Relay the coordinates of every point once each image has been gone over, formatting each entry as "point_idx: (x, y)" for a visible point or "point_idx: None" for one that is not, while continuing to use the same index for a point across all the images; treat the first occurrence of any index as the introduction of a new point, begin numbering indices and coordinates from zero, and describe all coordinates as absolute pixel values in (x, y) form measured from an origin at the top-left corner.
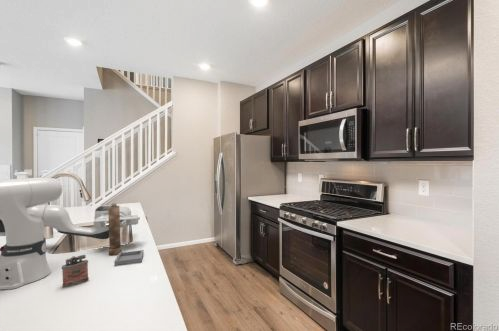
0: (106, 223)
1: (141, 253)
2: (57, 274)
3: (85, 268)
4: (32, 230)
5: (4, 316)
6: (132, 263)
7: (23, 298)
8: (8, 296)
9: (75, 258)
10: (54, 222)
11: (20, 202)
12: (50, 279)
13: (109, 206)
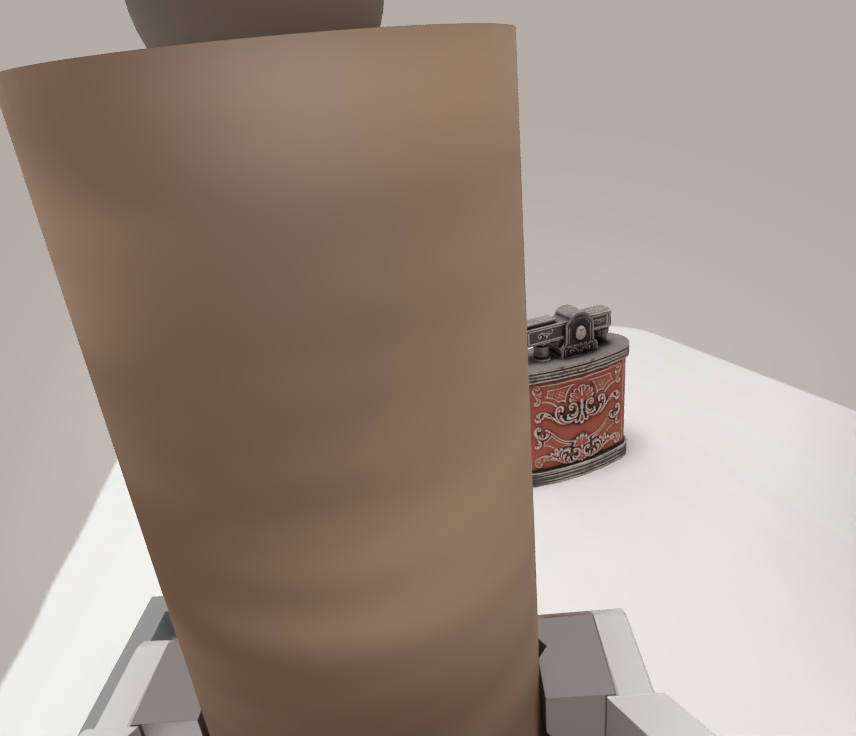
0: (621, 666)
1: (103, 707)
2: (821, 571)
3: None
4: None
5: (689, 347)
6: None
7: (739, 400)
8: (848, 416)
9: (557, 315)
10: None
11: None
12: (794, 516)
13: (493, 23)
